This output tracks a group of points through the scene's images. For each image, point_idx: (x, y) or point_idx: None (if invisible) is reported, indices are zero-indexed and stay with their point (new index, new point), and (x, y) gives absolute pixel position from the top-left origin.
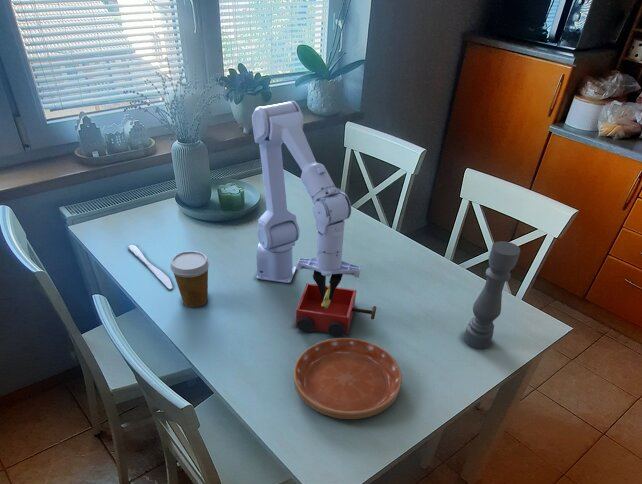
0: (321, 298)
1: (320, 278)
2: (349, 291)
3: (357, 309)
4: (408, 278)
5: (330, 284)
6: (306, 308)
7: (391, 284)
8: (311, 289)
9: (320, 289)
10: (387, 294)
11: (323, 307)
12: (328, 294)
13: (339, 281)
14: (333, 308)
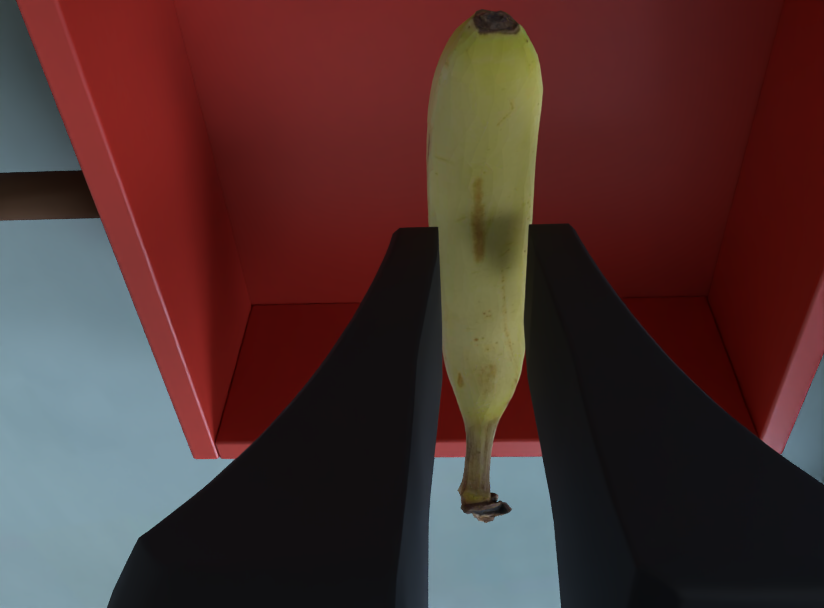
0: (565, 224)
1: (714, 598)
2: (262, 430)
3: (63, 198)
4: (26, 601)
5: (402, 459)
6: (721, 156)
7: (94, 549)
8: (704, 389)
9: (618, 334)
10: (64, 472)
11: (492, 17)
12: (478, 329)
13: (122, 580)
14: (417, 224)
